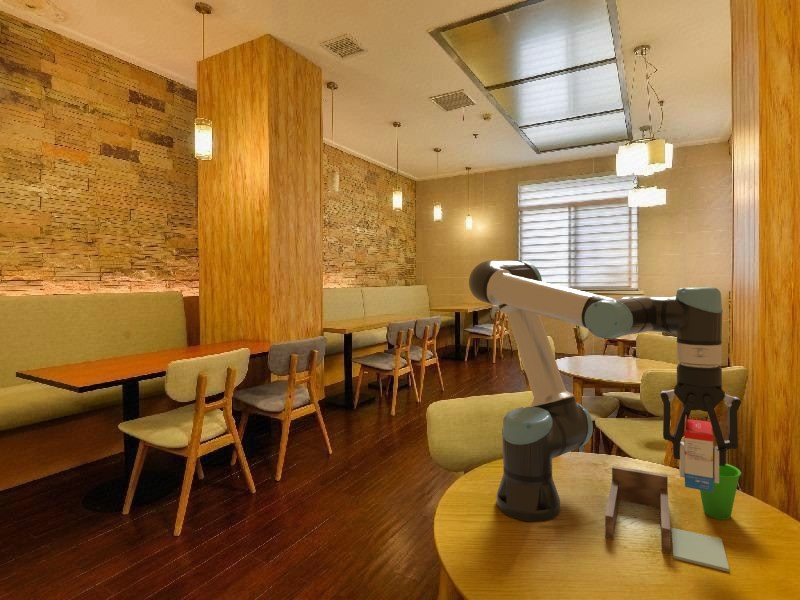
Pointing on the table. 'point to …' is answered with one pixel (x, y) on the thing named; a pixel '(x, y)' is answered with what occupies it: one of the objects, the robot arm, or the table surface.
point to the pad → (699, 549)
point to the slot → (639, 497)
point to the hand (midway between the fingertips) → (698, 477)
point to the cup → (721, 493)
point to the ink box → (698, 454)
